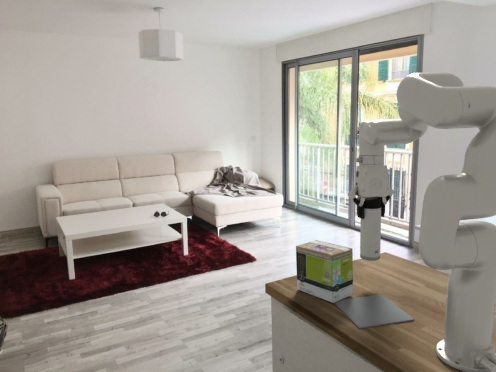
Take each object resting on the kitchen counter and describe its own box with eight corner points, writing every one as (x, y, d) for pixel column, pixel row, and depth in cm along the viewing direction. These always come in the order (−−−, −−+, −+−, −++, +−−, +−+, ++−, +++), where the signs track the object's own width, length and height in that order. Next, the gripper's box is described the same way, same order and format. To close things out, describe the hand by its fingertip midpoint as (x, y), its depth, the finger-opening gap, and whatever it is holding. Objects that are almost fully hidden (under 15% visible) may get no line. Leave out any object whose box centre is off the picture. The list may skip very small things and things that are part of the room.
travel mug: (382, 261, 130) (383, 198, 127) (360, 260, 131) (361, 198, 129) (380, 255, 136) (381, 195, 133) (359, 254, 138) (360, 195, 135)
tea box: (354, 294, 127) (353, 247, 125) (332, 304, 121) (331, 255, 118) (317, 281, 138) (316, 238, 136) (295, 289, 132) (294, 245, 130)
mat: (414, 320, 111) (414, 319, 111) (359, 328, 108) (359, 327, 107) (382, 295, 126) (382, 294, 126) (333, 302, 123) (333, 301, 123)
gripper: (351, 163, 124) (351, 221, 126) (403, 160, 127) (402, 217, 130) (340, 161, 131) (340, 216, 134) (389, 158, 135) (388, 212, 137)
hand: (370, 216), depth 132 cm, fingers closed on travel mug, 6 cm apart
